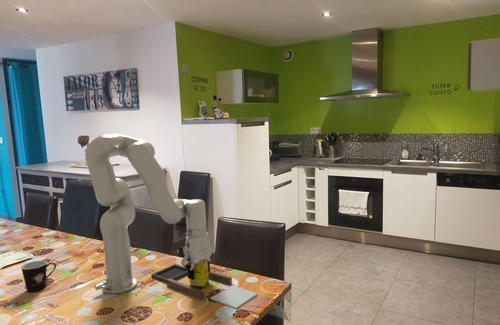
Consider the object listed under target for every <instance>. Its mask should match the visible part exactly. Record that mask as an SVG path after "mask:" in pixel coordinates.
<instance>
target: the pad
mask: <svg viewBox="0 0 500 325" xmlns="http://www.w3.org/2000/svg"><path fill="white" fill-rule="evenodd" d="M256 296H258V293H256V292H253V291H251V290H247V289H245V288H241V287H239V286H236V285H232V284H231V285H230V286H228V287H226V288H225V289H223V290H222V291H219V293H217V294H214V296H211V297H210V300H212V301H214V302H217V303H219V304H222V305H224V306H227V307H230V308H233V309H234V310H237V309H238V308H240V307H241V306H243V305H245V304H246V303H248V302H249V301H251V300H252V299H253V298H255V297H256Z"/></svg>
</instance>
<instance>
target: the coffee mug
mask: <svg viewBox="0 0 500 325" xmlns="http://www.w3.org/2000/svg"><path fill="white" fill-rule="evenodd" d="M49 265H53V266H54V267H53V269H52V271H51V272H49V274H48V275H47V268H48V267H49ZM20 268H21V269H20V270H21V273H22V276H23V280H24V283H25V284H24V285H25V288H26V293H30V294H33V293H39V292H41V290H42V291H43V290H45V289H46V287H47V279H48V278H49V277H50V276H51V275H53V273H54V271H56V268H57V264H56V263H55V262H52V261H51V262H49V263H47V261H46V260H33V261H30V262H27V263H25V264H23V265H21V266H20Z"/></svg>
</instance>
